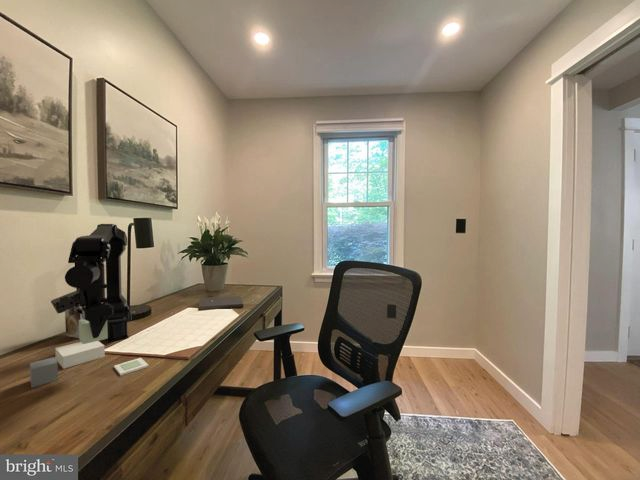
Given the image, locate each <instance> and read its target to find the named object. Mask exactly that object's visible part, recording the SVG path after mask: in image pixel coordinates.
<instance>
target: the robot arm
mask: <svg viewBox="0 0 640 480" xmlns="http://www.w3.org/2000/svg"><path fill="white" fill-rule="evenodd" d="M127 245H128V236H127V233H126V232H125V231H124V230H122V229H121V228H118V225H117V224H114V223H100V224H97V227H96V228H95V229H94V230H93V231H92V232H91V233H90V234H89V235H81V236H79V237H77V238H76V239H75V240H74V241H72V244H71V247H70V248H71V249H70V252H69V257H68V261H67V262H68V264H74V266H72V267H70V268H69V269H68V270H67V271H65V275H64V281H65V284H67V285H68V286H70V287H72V288H74V289H76V290H74V291H71V292H69V293H66V294H64V295H61V296H59V297H56V298H54V299H52V300H51V301H50V303H51V305H52V306H53V309H54V310H55V312H56V313H57V314H62V313H65V310H67V309H70V308H72V307H75V308H77V307H78V305H79V309H76V311H77V312H79V313H80V314H82V315H83V316H82V318H83V319H85V320H87V321H89V324H90V328H91V332H92V336H93V338H98V337H99V335H100V333H101V331H102V329H103V327H104V325H105V323H106V321H107V330H108V339H104V341H106V342H107V343H111V342H115V341H121V340H123V339H124V340H125V339H128V338H129V335H128V323H129V322H131V321H132V318H133V317H132V311H131V309H130V307H129V305H128V301H127V299H126V298H125V297H124V295H123V294H122V263H121V262H122V260H121V259H122V257H121V256H122V255H123V253H124V252H125V251H126V246H127Z"/></svg>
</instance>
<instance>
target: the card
mask: <svg viewBox="0 0 640 480" xmlns="http://www.w3.org/2000/svg"><path fill="white" fill-rule="evenodd" d="M113 368H114V369H115V371H116V372H117V373H118V374H119V376H121V377H122V376H125V375H127V374H131V373H134V372H136V371H140V370H142V369H146V368H149V364H148V363H147V362H146V361H145V360H144V359H143V358H142V357H138V358H135V359H132V360H129V361H125V362H121V363H119V364H115V365H114V366H113Z"/></svg>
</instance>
